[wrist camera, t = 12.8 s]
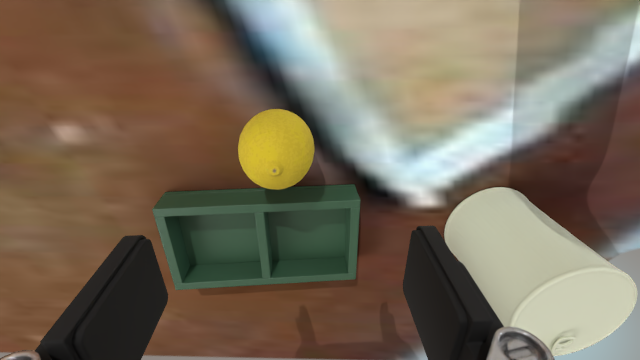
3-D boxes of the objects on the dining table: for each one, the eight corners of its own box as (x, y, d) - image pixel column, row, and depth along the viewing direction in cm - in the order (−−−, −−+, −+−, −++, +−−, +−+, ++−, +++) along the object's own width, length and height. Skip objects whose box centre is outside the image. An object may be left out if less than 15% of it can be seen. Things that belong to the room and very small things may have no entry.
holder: (165, 191, 29) (151, 209, 26) (354, 184, 30) (360, 200, 27) (185, 268, 33) (175, 290, 30) (350, 259, 34) (355, 279, 31)
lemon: (309, 162, 28) (314, 210, 21) (246, 159, 28) (230, 206, 21) (314, 101, 26) (322, 131, 19) (245, 96, 25) (227, 125, 18)
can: (438, 262, 35) (501, 368, 24) (450, 190, 31) (533, 279, 20) (518, 256, 35) (615, 357, 25) (541, 183, 31) (670, 268, 20)
